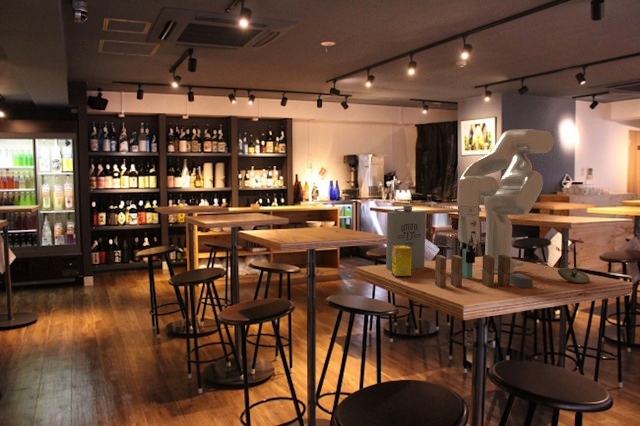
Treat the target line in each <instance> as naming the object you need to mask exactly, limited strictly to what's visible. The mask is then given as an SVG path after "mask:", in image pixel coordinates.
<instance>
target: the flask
mask: <svg viewBox="0 0 640 426" xmlns="http://www.w3.org/2000/svg"><path fill="white" fill-rule="evenodd" d="M413 207H414V206H413V205H407V204H405V205H402V207H401V208H394V211H387V212H386V255H385V256H386V259H385V262H386V263H385V264H386V265H385V268H386V270H387V269H388V271H392V246H409V247H410V248H412V260H411V270H412V269H413V270H414V268H415V269H422V268H425V261H426V259H425V258H426V257H425V252H426V251H425V250H426V215H427V214H426V213H427V212H426V210H413ZM421 267H422V268H421Z"/></svg>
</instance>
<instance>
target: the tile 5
mask: <svg viewBox="0 0 640 426" xmlns="http://www.w3.org/2000/svg"><path fill="white" fill-rule="evenodd" d="M511 259H512V256H511V257H509V256H506V255H498V273H497V281H496V282H497V285H498V286H501V287H503V288H508V287H509V288H510V285H511V283H510V274H511V273H510V262H511Z"/></svg>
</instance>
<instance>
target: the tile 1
mask: <svg viewBox="0 0 640 426" xmlns="http://www.w3.org/2000/svg"><path fill="white" fill-rule="evenodd" d="M434 266H435V270H434V272H435V273H434V275H435V276H434V278H435V279H434V285H435V286H436V287H438V288H440V289H446V286H447V285H446V284H447V281H446V280H447V257H446V256H444V255H441V254H438V255H437V254H436V255H435V265H434Z"/></svg>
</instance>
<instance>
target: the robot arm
mask: <svg viewBox="0 0 640 426" xmlns="http://www.w3.org/2000/svg"><path fill="white" fill-rule="evenodd" d="M554 143H555V139H554V136H553V135H552V133H551V132H549V131H547V130H540V129H534V128H523V129H522V128H520V129H508V130H505V131H503V133H502V134H501V135H500V136H499V138H498V139H497V141H496V142H495V144H494V145H493V147H492V148H491V150H490V151H489V153H488V154H486V155H484V156H483V157H481V158H479V159H478V160H476V161H475V162H473V163H471V164H470V165H469V166H468V167H467V168H466V169H465V171H464V172H463V173H462V175H461V177H460V178H459V179H458V187H457V215H458V216H459V217H458V225H457V239H458V241H459V244H460V245H459V256H460V257H462V249H467V252H466V263H473V264H475V263H476V252H477V250H476V248H477V246H478V244H480V243H481V225H480V217H479V216H480V209H481V208H480V206H481V205H480V204H481V201H480V200H481V198H482V197H483V198H484V200H483V202H484V203H483V205H484V210H485V219H486V220H485V222H486V223H485V227H486V228H485V245H484V246H485V248H484V249H485V251H484V255H490V256H493V257H495V265H494V274H498V255H506V256H509V257H511V262H510V274H515V271H516V269H515V267H524V262H523V260H522V261H519V260H518V261H517V260H514V259H512V243H513V241H512V238H513V224H512V221H511V219H510V217H509V216H525V215H527V214H528V213H530V211H531V210H532V208H533V207H534V205H535V203H536V202H537V200H538V198H539V196H540V194H541V192H542V190H543V185H544V180H543V178H544V177H543V175H542V174H541V173H540V172H538V171H536V170H532V169H533V166H532V165H533V164H532V163H531V161H530V159H529V158H528V156H527V154H546V153H550V151H551V150H552V149H553V148H554V145H555V144H554ZM505 169H506V170H505ZM503 170H505V171H504V173H503V175H502V176H501V178H500V181H499V182H498V180H497V179H496V178H495V177H494V176H489V175H491V174H494V173H498V172H500V171H503ZM482 267H483V265H481V266H480V271H482Z"/></svg>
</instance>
